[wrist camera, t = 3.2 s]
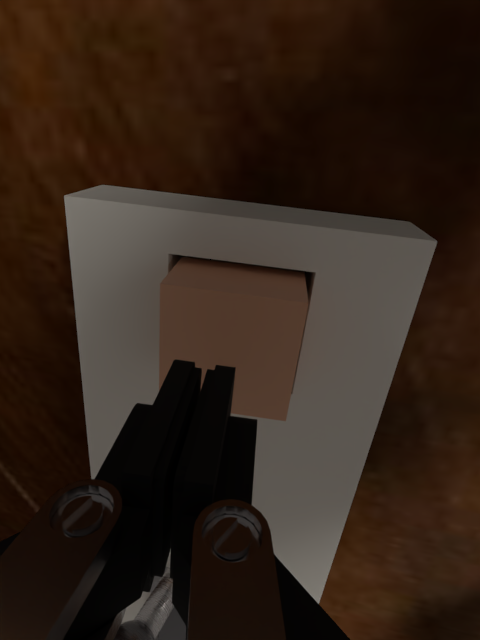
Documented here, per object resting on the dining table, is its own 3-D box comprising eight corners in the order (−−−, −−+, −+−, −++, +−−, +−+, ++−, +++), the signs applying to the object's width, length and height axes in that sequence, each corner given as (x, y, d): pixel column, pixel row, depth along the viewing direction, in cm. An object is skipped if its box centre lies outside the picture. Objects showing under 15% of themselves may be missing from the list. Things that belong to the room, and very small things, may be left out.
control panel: (102, 184, 15) (50, 199, 12) (409, 221, 15) (447, 248, 11) (124, 596, 28) (102, 661, 24) (292, 625, 27) (293, 696, 24)
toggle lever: (199, 496, 18) (87, 652, 13) (233, 513, 18) (131, 686, 12) (197, 521, 19) (91, 679, 13) (229, 539, 18) (133, 712, 13)
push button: (182, 256, 14) (160, 283, 12) (304, 272, 14) (308, 303, 11) (178, 360, 16) (158, 402, 13) (285, 375, 16) (285, 421, 13)
